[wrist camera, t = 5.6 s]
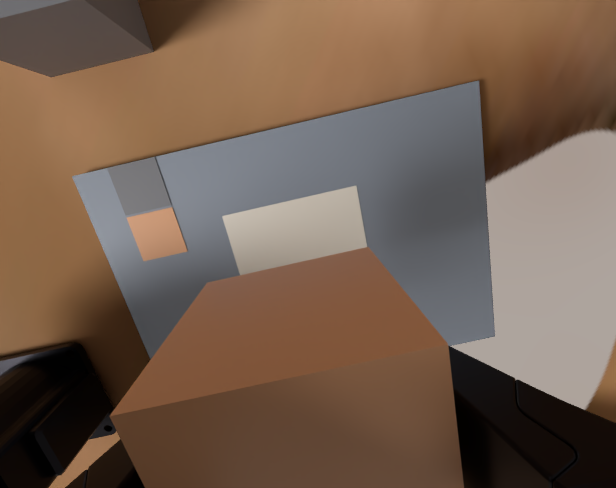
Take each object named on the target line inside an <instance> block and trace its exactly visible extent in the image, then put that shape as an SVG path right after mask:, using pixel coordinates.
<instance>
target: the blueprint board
mask: <svg viewBox="0 0 616 488" xmlns="http://www.w3.org/2000/svg"><path fill="white" fill-rule="evenodd" d="M72 177H73V179H74V182H75V184H76V186H77V189H78V191H79V193H80V196H81V198H82V201H83V203H84V205H85V208H86V210H87V212H88V215H89V217H90V219H91V222H92V224H93V226H94V229H95V231H96V233H97V236H98V238H99V240H100V243H101V245H102V247H103V250H104V252H105V254H106V257H107V259H108V261H109V264H110V266H111V268H112V271H113V273H114V275H115V278H116V280H117V282H118V285H119V287H120V289H121V292H122V294H123V297H124V299H125V301H126V304H127V306H128V308H129V311H130V313H131V315H132V318H133V320H134V322H135V325H136V327H137V329H138V332H139V334H140V336H141V339H142V341H143V343H144V346H145V348H146V350H147V353H148V355H149V357H150V360H151V359H152V357H153V356H154V355H155V353H156V352H157V350H158V349H159V348H160V346H161V345H162V344H163V342H164V341H165V340H166V338H167V337H168V335H169V334H170V333H171V331H172V330H173V329H174V327H175V326H176V324H177V323H178V322H179V320H180V319H181V318H182V316H183V315H184V314H185V312H186V311H187V309H188V308H189V307H190V305H191V304H192V303H193V301H194V300H195V298H196V297H197V296H198V294H199V293H200V292H201V290H202V289H203V288H204V286H205V285H206V283H208V282H212V281H217V280H221V279H226V278H230V277H235V276H239V275H244V274H248V273H253V272H257V271H262V270H266V269H271V268H275V267H280V266H284V265H289V264H293V263H298V262H302V261H307V260H311V259H316V258H320V257H325V256H329V255H334V254H338V253H343V252H347V251H352V250H356V249H361V248H365V247H369V248H370V249H371V251H372V252H373V253H374V254H375V255H376V257H377V258H378V259H379V260H380V262H381V263H382V264H383V265H384V266H385V268H386V269H387V270H388V271H389V273H390V274H391V275H392V276H393V277H394V279H395V280H396V281H397V282H398V284H399V285H400V286H401V287H402V288H403V290H404V291H405V292H406V293H407V294H408V296H409V297H410V298H411V299H412V301H413V302H414V303H415V304H416V305H417V307H418V308H419V309H420V310H421V312H422V313H423V314H424V315H425V316H426V318H427V319H428V320H429V321H430V323H431V324H432V325H433V326H434V327H435V329H436V330H437V331H438V332H439V334H440V335H441V336H442V337H443V338H444V340H445V341H446V342H447V343H448V346H452V345H456V344H461V343H466V342H470V341H475V340H480V339H485V338H489V337H494V336H495V330H494V314H493V298H492V282H491V266H490V250H489V233H488V217H487V201H486V187H485V186H486V185H485V169H484V153H483V137H482V121H481V104H480V88H479V80H478V81H474V82H470V83H466V84H462V85H457V86H453V87H449V88H445V89H440V90H436V91H432V92H428V93H423V94H419V95H415V96H411V97H406V98H402V99H398V100H394V101H389V102H385V103H381V104H377V105H373V106H368V107H364V108H360V109H356V110H351V111H347V112H343V113H339V114H334V115H330V116H326V117H322V118H317V119H313V120H309V121H305V122H300V123H296V124H292V125H288V126H283V127H279V128H275V129H271V130H267V131H262V132H258V133H254V134H250V135H245V136H241V137H237V138H233V139H228V140H224V141H220V142H216V143H211V144H207V145H203V146H199V147H194V148H190V149H186V150H182V151H178V152H173V153H169V154H165V155H161V156H156V157H152V158H147V159H143V160H139V161H135V162H130V163H126V164H122V165H118V166H113V167H109V168H105V169H101V170H97V171H93V172H89V173H84V174H80V175H76V176H72Z"/></svg>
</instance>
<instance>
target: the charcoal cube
mask: <svg viewBox="0 0 616 488" xmlns="http://www.w3.org/2000/svg"><path fill="white" fill-rule="evenodd" d="M151 52H154V50H153V47H152V44H151V41H150V38H149V35H148V32H147V28H146V25H145V22H144V19H143V16H142V13H141V10H140V7H139V3H138V0H0V60H1V61H4V62H7V63H10V64H13V65H16V66H19V67H22V68H25V69H28V70H31V71H34V72H37V73H40V74H43V75H46V76H49V77H54V76H58V75H62V74H66V73H71V72H75V71H79V70H83V69H87V68H91V67H95V66H99V65H103V64H107V63H111V62H115V61H119V60H123V59H127V58H131V57H135V56H139V55H143V54H147V53H151Z"/></svg>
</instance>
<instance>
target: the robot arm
mask: <svg viewBox="0 0 616 488" xmlns="http://www.w3.org/2000/svg"><path fill="white" fill-rule="evenodd" d="M448 347H449V356H450V365H451V374H452V383H453V392H454V401H455V410H456V419H457V429H458V438H459V447H460V456H461V465H462V474H463V483H464V488H616V423H615V422H612V421H610V420H607V419H605V418H602V417H600V416H597V415H595V414H593V413H590V412H588V411H586V410H583V409H581V408H579V407H576V406H574V405H571V404H569V403H567V402H564V401H562V400H560V399H557V398H556V397H554V396H551V395H549V394H547V393H545V392H543V391H541V390H538V389H536V388H534V387H532V386H530V385H528V384H526V383H524V382H522V381H520V380H516V381H515V378H513V377H511V376H509V375H507V374H505V373H503V372H501V371H499V370H497V369H495V368H493V367H491V366H489V365H487V364H485V363H483V362H481V361H478V360H477V359H475V358H472V357H470V356H468V355H466V354H464V353H462V352H460V351H458V350H456V349H454V348H452V347H450V346H448ZM72 351H73V352H74V353H72ZM113 411H114V409H113V407H112V405H111V403H110V401H109V399H108V397H107V395H106V393H105V391H104V389H103V387H102V385H101V383H100V381H99V379H98V377H97V375H96V373H95V371H94V369H93V367H92V365H91V363H90V361H89V359H88V357H87V355H86V352H85V350H84V348H83V347H82V346H81V345H80V344H78V343H75V342H74V343H67V344H63V345H58V346H54V347H49V348H45V349H40V350H36V351H31V352H26V353H22V354H17V355H13V356H8V357H4V358H0V488H49V486H50V485H51V484H52V483H53V481H54V480H55V479H56V477H57V476H58V475H62V474H63V473H64V472H65V470H66V469H67V468H68V466H69V465H70V464H71V462H72V461H73V460H74V458H75V457H76V456H77V454H78V453H79V452H80V450H81V449H82V448H83V446H84V445H85V444H86V442H87V441H88V440H89V439H93V438H98V437H103V436H107V435H112V434H114V433H115V432H116V429H115V427H114V425H113V423H112V421H111V419H110V417H109V416H110V415H111V413H112V412H113ZM65 488H145V487H144V485H143V483H142V481H141V479H140V477H139V475H138V473H137V471H136V469H135V467H134V465H133V463H132V461H131V459H130V457H129V455H128V453H127V451H126V449H125V447H124V445H123V443H122V441H121V439H120V440H119V441H118V442H117V443H116V444H114V445H113V446H112V447H111V448H110V449H109V450H108V451H107V452H105V453H104V454H103V455H102V456H101V457H100V458H99V459H97V460H96V461H95V462H94V463H93V464H92V465H91V466H89V468H88V470H85V471H84V472H82V473H81V474H80V475H79V476H78V477H77V478H76V479H75V480H73V481H72V482H71V483H70V484H69V485H68V486H67V487H65Z"/></svg>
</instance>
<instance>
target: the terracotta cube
mask: <svg viewBox="0 0 616 488" xmlns="http://www.w3.org/2000/svg"><path fill="white" fill-rule="evenodd" d="M109 417H110V419H111V421H112V423H113V425H114V427H115V429H116V431H117V433H118V435H119V437H120V439H121V441H122V443H123V445H124V447H125V449H126V451H127V453H128V455H129V457H130V459H131V461H132V463H133V465H134V467H135V469H136V471H137V473H138V475H139V477H140V479H141V481H142V483H143V485H144V487H145V488H464V483H463V474H462V465H461V456H460V447H459V438H458V429H457V419H456V410H455V401H454V392H453V383H452V374H451V365H450V356H449V347H448V343H447V342H446V341H445V340H444V338H443V337H442V336H441V335H440V334H439V332H438V331H437V330H436V329H435V327H434V326H433V325H432V324H431V323H430V321H429V320H428V319H427V318H426V316H425V315H424V314H423V313H422V312H421V310H420V309H419V308H418V307H417V305H416V304H415V303H414V302H413V301H412V299H411V298H410V297H409V296H408V294H407V293H406V292H405V291H404V290H403V288H402V287H401V286H400V285H399V284H398V282H397V281H396V280H395V279H394V277H393V276H392V275H391V274H390V273H389V271H388V270H387V269H386V268H385V266H384V265H383V264H382V263H381V262H380V260H379V259H378V258H377V257H376V255H375V254H374V253H373V252H372V251H371V249H370V248H369V247H365V248H361V249H356V250H352V251H347V252H343V253H338V254H334V255H329V256H325V257H320V258H316V259H311V260H307V261H302V262H298V263H293V264H289V265H284V266H280V267H275V268H271V269H266V270H262V271H257V272H253V273H248V274H244V275H239V276H235V277H230V278H226V279H221V280H217V281H212V282H208V283H206V285H205V286H204V288H203V289H202V290H201V292H200V293H199V294H198V296H197V297H196V298H195V300H194V301H193V303H192V304H191V305H190V307H189V308H188V309H187V311H186V312H185V314H184V315H183V316H182V318H181V319H180V320H179V322H178V323H177V324H176V326H175V327H174V329H173V330H172V331H171V333H170V334H169V335H168V337H167V338H166V340H165V341H164V342H163V344H162V345H161V346H160V348H159V349H158V350H157V352H156V353H155V355H154V356H153V357H152V359H151V360H150V361H149V363H148V364H147V366H146V367H145V368H144V370H143V371H142V372H141V374H140V375H139V376H138V378H137V379H136V381H135V382H134V383H133V385H132V386H131V387H130V389H129V390H128V392H127V393H126V394H125V396H124V397H123V398H122V400H121V401H120V402H119V404H118V405H117V407H116V408H115V409H114V411H113V412H112V413H111V415H110V416H109Z"/></svg>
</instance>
